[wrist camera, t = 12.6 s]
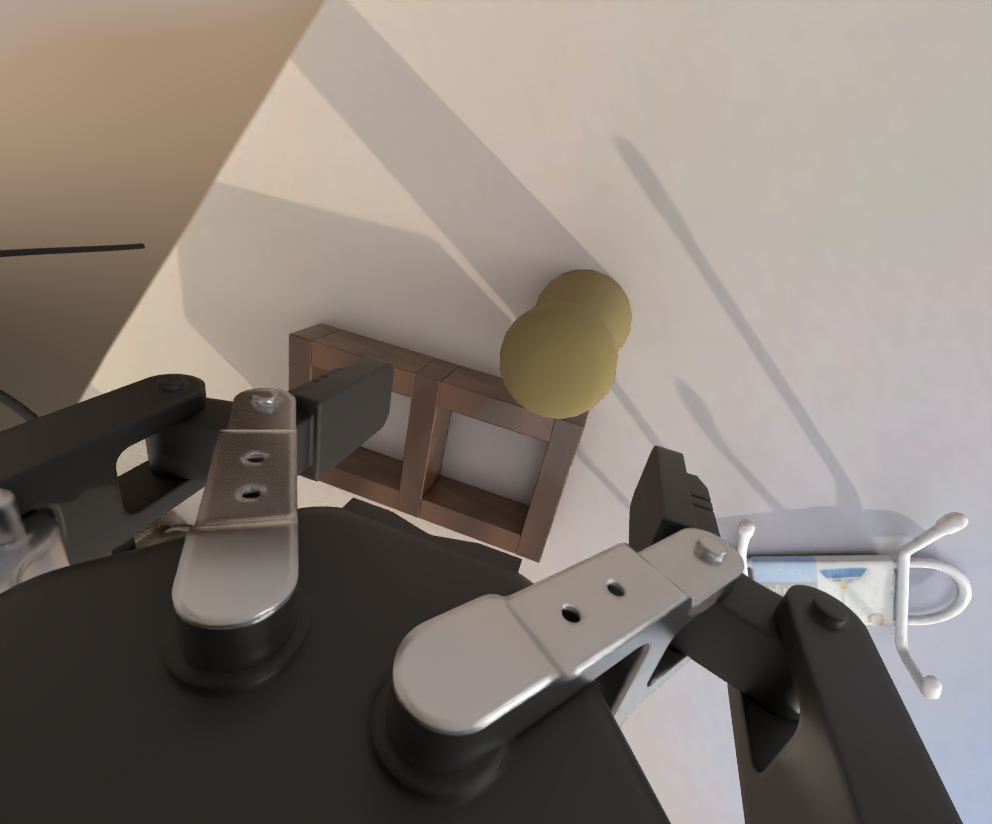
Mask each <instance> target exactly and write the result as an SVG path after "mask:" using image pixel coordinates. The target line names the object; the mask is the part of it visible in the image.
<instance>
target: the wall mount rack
mask: <svg viewBox="0 0 992 824" xmlns="http://www.w3.org/2000/svg"><path fill="white" fill-rule="evenodd" d="M967 524H968V519H967V517H966V516H964V515H963V514H961V513H958V512H951V513H948V514H946V515H944V516H943V517H941V518H940V519H939V520H937V522H936V525H934V526H933V527H931V528H930V529H928V530H927V531H925V532H924V533H922V534H921V535H919V536H918V537H916V538H915V539H913V540H912V541H910V542H909V543H907V544H905V545H904V546H902V547H901V548H900V549H899V552H898V556H897V558H891V557H890V556H889V555H830V556H752V557H750V559H747V558H746V554H747V548H748V543H749V539H750V537H752V536H753V533H754V530H755V525H754V524H753V522H751V521H749V520H743V521H741V522H740V523H739V526H738V534H739V540H738V549H737V551H738V553H739V554H740V555H741V557H742V559H743V561H744V570H743V573H744V574H745V575H746V576H748V570H747V568H748V567H750V568H751V572H752V580H754V581H756V582H757V583H759V584H761V585H763V586H765V587H766V588H768V589H770V590H772V591H774V592H776V593H777V594H779V595H781V596H784V595H785V593H786V592H787V590H788V589H789V588H790V587H791V586H794V585H807V586H811V587H814V588H817V589H819V590H822V591H824V592H826V593H828V594H830V595H831V596H833V597H835V598H836V599H838V600H839V601H841V602H842V603H844V604H845V605H846V606H847V607H849V608H850V609H851V610H852V611H853V612H854V613H855V614H856V615H857V616H858V617H859V618H860V619H861V621H862V622H863V623H864V625H885V626H891V625H895V626H896V633H895V644H896V648H897V651H898V654H899V656H900V657H901V659H902V661H903V663H904V665H905V666H906V668H907V670H908V671H909V673H910V675H911V677H912V678H913V680H914V682H915V683H916V685H917V687H918V688H919V690H920V691H921V693H922V694H923V695H924V696H925V697H926V698H929V699H937V698H939V696H940V693H941V688H942V684H941V682H940V681H939V680H938V679H937V678H936V677H934V676H929V675H928V676H925V677H923V675H922V673H921V672H920V670H919V669H918V667H917V665H916V664H915V662H914V661H913V659H912V657H911V655H910V653H909V650H908V646H907V625H926V624H933V623H938V622H942V621H945V620H948V619H950V618H952V617H954V616H956V615H958V614H959V613H960V612H962V611H963V610H964V609H965V608H966V606H967V605H968V603H969V602H970V600H971V596H972V593H971V586H970V583H969V581H968V579H967V578H966V577H965V575H964V574H963V573H962V572H960V571H959V570H958V569H956V568H955V567H953V566H952V565H949V564H947V563H945V562H942V561H939V560H934V559H928V558H910V556H911V555H912V554H913V553H915V552H916V551H918V550H920V549H922V548H923V547H925V546H927V545H928V544H930V543H932V542H933V541H935V540H937V539H939V538H940V537H942V536H944V535H946V534H952V533H955V532H957V531H959V530H961V529H962V528H964V527H965V526H966V525H967ZM909 567H920V568H932V569H936V570H940V571H942V572H944V573H946V574H948V575H949V576H951V577H952V578H953V579H954V581H955V583H956V585H957V594H956V597H955V599H954V600H953V602H952V603H951V604H949V605H948V606H947V607H945V608H944V609H942V610H940V611H937V612H934V613H930V614H925V615H908V594H909Z"/></svg>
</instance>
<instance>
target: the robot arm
mask: <svg viewBox="0 0 992 824" xmlns="http://www.w3.org/2000/svg"><path fill="white" fill-rule="evenodd" d="M144 248H145V246H144V244H143V243H138V244H123V245H104V246H81V247H56V248H32V249H14V250H13V249H12V250H0V257H11V256H27V255H44V254H64V253H84V252H102V251H118V250H133V249H144ZM393 373H394V369H393V365H392V364H391V363H388V362H385V361H381V360H378V359H375V358H372V357H366V358H364V359H362V360H360V361H358V362H356V363H354V364H352V365H350V366H346V367H341V368H336V369H332V370H330V371H328V372H326V373H324V374H322V375H321V376H318V377H316V378H314V379H312V381H308V382H306V383H304V384H302V385H300V386H298V387H296V388H294V389H292V390H290V391H288V392H286V391H283V390H279V389H273V388H257V389H251V390H247V391H244V392H241V393H239V394H238V395H237V396H236V397H235V398H234V401H233V402H232V401H225V400H218V399H211V398H206V389H205V383H204V381H202V380H201V379H199V378H197V377H194V376H190V375H183V374H165V375H157V376H153V377H149V378H146V379H143V380H141V381H138V382H135V383H132V384H130V385H127V386H124V387H121V388H119V389H116V390H113V391H110V392H108V393H105V394H102V395H100V396H97V397H94V398H91V399H89V400H86V401H83V402H80V403H78V404H75V405H72V406H69V407H67V408H64V409H61V410H59V411H56V412H53V413H50V414H48V415H45V416H42V417H38V416H37V415H36V414H34V413H33V412H32V411H31V410H29V409H28V408H27V407H26V406H24V405H23V404H22V403H21V402H19V401H17V400H16V399H15V398H13V397H12V396H10V395H8V394H6V393H5V392H3V391H1V390H0V401H1V402H2V403H4V404H5V405H7V406H8V407H10V408H11V409H13V410H14V411H15V412H16V413H18V414H19V415H20V416H21V417H23V418H24V419H25V420H26V421H27V422H26V423H23V424H20V425H17V426H15V427H12V428H9V429H7V430H4V431H1V432H0V824H671V823H670V821H669V819H668V817H667V816H666V814H665V812H664V810H663V808H662V806H661V804H660V802H659V801H658V799H657V797H656V795H655V793H654V791H653V789H652V787H651V786H650V784H649V782H648V780H647V778H646V776H645V774H644V772H643V771H642V769H641V767H640V765H639V763H638V761H637V759H636V757H635V756H634V754H633V752H632V750H631V748H630V746H629V744H628V742H627V740H626V739H625V737H624V735H623V733H622V731H621V729H620V727H621V726H622V725H623V723H624V722H625V721H626V720H627V718H628V717H629V716H630V714H631V713H632V712H633V711H634V709H635V708H636V707H637V706H638V705H639V704H640V703H641V702H642V701H643V700H644V699H645V698H646V697H648V696H649V695H650V694H651V693H652V692H654V691H655V690H656V689H657V688H658V687H659V686H661V685H662V684H663V683H664V682H665V681H666V680H668V679H669V678H670V677H671V676H672V675H674V674H675V673H676V672H677V671H678V670H679V669H681V668H682V667H683V666H684V665H685V664H687V663H688V662H689V661H690V659H692V660H694V661H695V662H697V663H698V664H700V665H701V666H703V667H704V668H706V669H707V670H709V671H710V672H712V673H713V674H715V675H716V676H718V677H720V678H721V679H723V680H724V681H726V682H727V683H728V694H729V702H730V710H731V717H732V725H733V733H734V740H735V748H736V756H737V764H738V771H739V779H740V787H741V795H742V802H743V810H744V818H745V824H963V823H962V821H961V819H960V817H959V815H958V813H957V811H956V809H955V807H954V805H953V803H952V801H951V799H950V797H949V795H948V793H947V791H946V788H945V786H944V784H943V782H942V780H941V778H940V776H939V774H938V772H937V770H936V768H935V766H934V764H933V762H932V760H931V758H930V756H929V754H928V752H927V750H926V748H925V746H924V744H923V742H922V740H921V738H920V736H919V734H918V732H917V730H916V728H915V726H914V724H913V721H912V719H911V717H910V715H909V713H908V711H907V709H906V707H905V705H904V703H903V701H902V699H901V697H900V695H899V693H898V691H897V689H896V687H895V685H894V683H893V681H892V679H891V677H890V675H889V673H888V671H887V669H886V667H885V665H884V663H883V661H882V659H881V657H880V654H879V652H878V650H877V648H876V646H875V644H874V642H873V640H872V638H871V636H870V634H869V632H868V630H867V628H866V627H865V625H864V623H863V622H862V621H861V619H860V618H859V617H858V616H857V615H856V614H855V613H854V612H853V611H852V610H851V609H850V608H849V607H847V606H846V605H845V604H844V603H842V602H841V601H839V600H838V599H836V598H835V597H833V596H831V595H830V594H828V593H826V592H824V591H822V590H819V589H817V588H814V587H811V586H807V585H794V586H791V587H790V588H789V589H788V590H787V592H786V593H785V595H784V596H781V595H779V594H777V593H776V592H774V591H772V590H770V589H768V588H766V587H765V586H763V585H761V584H759V583H757V582H756V581H754V580H752V579H751V578H749V577H748V576H746V575H745V574H744V573H743V570H744V561H743V559H742V557H741V555H740V554H739V553H738V551H737V550H736V549H735V548H734V547H733V546H732V545H730V544H729V543H728V542H727V541H725V540H724V539H722V538H720V534H719V530H718V526H717V522H716V519H715V515H714V512H713V507H712V503H711V502H710V501H711V500H710V496H709V492H708V489H707V487H706V486H705V485H704V484H703V483H702V481H701V480H700V479H699V478H698V477H697V476H695V475H692V474H688V473H687V472H686V467H685V462H684V457H683V454H682V453H679V452H676V451H672V450H669V449H666V448H663V447H659V446H654V448H653V449H652V451H651V453H650V456H649V458H648V461H647V463H646V466H645V468H644V470H643V473H642V475H641V478H640V480H639V482H638V485H637V487H636V490H635V492H634V495H633V498H632V502H631V506H630V518H629V545H628V544H626V543H620V544H618V545H615V546H613V547H611V548H609V549H607V550H605V551H603V552H601V553H598V554H596V555H594V556H592V557H590V558H588V559H586V560H584V561H582V562H579V563H577V564H575V565H573V566H571V567H569V568H567V569H565V570H562V571H560V572H558V573H556V574H554V575H552V576H550V577H548V578H546V579H543V580H541V581H539V582H537V583H535V584H533V583H532V582H531V581H529V580H528V579H527V578H526V577H524V576H523V575H521V574H519V573H518V571H519V568H520V564H521V561H522V559H520V558H517V557H515V556H512V555H509V554H506V553H504V552H501V551H498V550H495V549H493V548H490V547H487V546H484V545H482V544H479V543H474V542H468V541H462V540H456V539H450V538H444V537H438V536H433V535H430V534H428V533H426V532H424V531H423V530H421V529H419V528H418V527H416V526H414V525H413V524H411V523H410V522H408V521H406V520H405V519H403V518H402V517H400V516H398V515H397V514H395V513H393V512H391V511H389V510H386V509H383V508H380V507H378V506H375V505H372V504H369V503H367V502H364V501H361V500H358V499H356V498H352V499H351V500H350V501H349V502H348V503H347V504H346V505H345V506H344V507H343V508H338V507H306V508H300V509H297V476H298V475H300V476H303V477H306V478H309V479H311V480H314V481H318V480H319V479H320V478H322V477H323V476H324V475H325V474H326V473H328V472H329V471H330V470H331V469H333V468H334V467H335V466H336V465H337V464H339V463H340V462H341V461H342V460H343V459H345V458H346V457H347V456H348V455H350V454H351V453H352V452H353V451H354V450H356V449H357V448H358V447H359V446H360V445H362V444H363V443H364V442H365V441H366V440H368V439H369V438H370V437H371V436H373V435H374V434H375V433H376V432H377V431H379V430H380V429H381V428H382V427H383V425H384V424H385V422H386V420H387V417H388V414H389V409H390V400H391V391H392V382H393ZM143 439H146V446H147V453H148V459H149V460H148V461H146V462H144V463H142V464H141V465H139V466H137V467H135V468H133V469H131V470H130V471H128V472H126V473H124V474H122V475H120V476H119V477H117V472H116V462H117V460H118V457H119V456H120V454H121V453H122V452H123V451H124V450H125V449H126V448H128V447H129V446H131V445H133V444H135V443H137V442H139V441H141V440H143ZM203 487H205V488H204V492H203V496H202V500H201V504H200V508H199V512H198V516H197V520H196V523H195V525H194V526H191V527H188V526H174V527H171V528H167V527H164V526H162V527H160V528H158V529H157V530H155V531H154V532H152V533H151V534H149V535H148V536H146V537H145V538H143V539H142V540H140V541H138V542H137V543H135V541H134V537H133V535H135V534H136V533H138V532H139V531H141V530H142V529H144V528H145V527H146V526H148V525H149V524H151V523H152V522H154V521H155V520H157V519H158V518H160V517H161V516H162V515H164V514H165V513H167V512H168V511H170V510H171V509H173V508H174V507H176V506H177V505H178V504H180V503H181V502H183V501H184V500H186V499H187V498H189V497H190V496H191V495H193V494H194V493H196V492H197V491H199V490H200V489H202V488H203Z"/></svg>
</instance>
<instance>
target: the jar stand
mask: <svg viewBox="0 0 992 824" xmlns="http://www.w3.org/2000/svg"><path fill="white" fill-rule="evenodd" d="M366 357H372V358H375V359H378V360H381V361H385V362H388V363H391V364H392V365H393V369H394V373H393V382H392V392H395V393H398V394H401V395H404V396H407V397H411V398H412V402H411V409H410V416H409V424H408V431H407V438H406V445H405V453H404V460H403V462H401V461H398V460H395V459H392V458H389V457H387V456H384V455H381V454H378V453H375V452H372V451H370V450H367V449H364V448H361V447H358V448H357V449H356V450H354V451H353V452H352V453H351V454H350V455H348V456H347V457H346V458H345V459H343V460H342V461H341V462H340V463H339V464H337V465H336V466H335V467H334V468H333V469H331V470H330V471H329V472H328V473H326V474H325V475H324V476H323V477H322V478H320V479H319V480H318V481H321V482H324V483H326V484H329V485H332V486H334V487H337V488H340V489H343V490H345V491H348V492H351V493H353V494H356V495H359V496H361V497H364V498H367V499H369V500H372V501H375V502H377V503H380V504H383V505H385V506H388V507H391V508H394V509H397V510H399V511H401V512H404V513H407V514H409V515H412V516H415V517H417V518H418V517H419V518H421V519H423V520H426V521H429V522H431V523H434V524H437V525H439V526H442V527H445V528H448V529H450V530H453V531H456V532H458V533H461V534H464V535H466V536H469V537H472V538H474V539H477V540H480V541H482V542H485V543H488V544H490V545H493V546H496V547H499V548H501V549H504V550H507V551H509V552H512V553H516V554H517V555H519V556H522V557H525V558H527V559H530V560H533V561H535V562H538V563H539V562H540V559H541V556H542V553H543V550H544V547H545V544H546V541H547V538H548V535H549V532H550V529H551V526H552V523H553V520H554V517H555V514H556V511H557V508H558V505H559V502H560V499H561V496H562V493H563V490H564V487H565V484H566V481H567V478H568V475H569V472H570V469H571V466H572V463H573V460H574V457H575V454H576V451H577V448H578V445H579V442H580V439H581V436H582V433H583V430H584V427H585V423H586V419H587V416H588V412H589V410H588V411H586V412H584V413H582V414H580V415H578V416H575V417H569V418H563V419H555V418H547V417H542V416H540V415H537V414H535V413H533V412H530V411H528V410H526V409H525V408H524V407H523V406H522V405H520V404H519V403H518V402H517V401H515V400H514V398H513V397H512V395H511V394H510V392H509V391H508V389H507V388H506V386H505V384H504V381H503V379H501V378H498V377H494V376H491V375H488V374H484V373H481V372H478V371H475V370H471V369H468V368H465V367H462V366H460V367H459V365H455V364H452V363H449V362H445V361H442V360H439V359H435V358H432V357H429V356H426V355H422V354H419V353H416V352H413V351H409V350H406V349H403V348H400V347H396V346H393V345H390V344H387V343H383V342H380V341H377V340H373V339H370V338H367V337H364V336H360V335H357V334H354V333H351V332H347V331H344V330H340V329H337V328H334V327H331V326H327V325H324V324H317V325H314V326H311V327H308V328H305V329H302V330H300V331H297V332H294V333H291V334H289V391H290V390H292V389H294V388H296V387H298V386H300V385H302V384H304V383H306V382H308V381H312V379H314V378H316V377H318V376H321V375H322V374H324V373H326V372H328V371H330V370H332V369H336V368H341V367H346V366H350V365H352V364H354V363H356V362H358V361H360V360H362V359H364V358H366ZM451 411H454V412H457V413H460V414H463V415H466V416H469V417H472V418H475V419H478V420H481V421H484V422H488V423H491V424H494V425H497V426H500V427H503V428H506V429H509V430H512V431H515V432H518V433H521V434H524V435H528V436H531V437H534V438H537V439H540V440H543V441H546V442H548V446H547V449H546V452H545V456H544V459H543V462H542V466H541V469H540V473H539V476H538V479H537V483H536V486H535V489H534V493H533V496H532V499H531V503H530V506H529V507H528V506H525V505H523V504H520V503H517V502H514V501H511V500H508V499H506V498H503V497H500V496H497V495H494V494H491V493H489V492H486V491H483V490H480V489H477V488H474V487H472V486H469V485H466V484H463V483H460V482H457V481H455V480H452V479H449V478H446V477H443V476H440V471H441V466H442V460H443V455H444V449H445V444H446V438H447V433H448V427H449V422H450V416H451Z"/></svg>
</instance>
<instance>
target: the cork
mask: <svg viewBox="0 0 992 824" xmlns="http://www.w3.org/2000/svg"><path fill="white" fill-rule="evenodd" d="M631 318H632V314H631V309H630V304H629V300H628V298H627V297H626V295H625V293H624V292H623V290H622V288H621V286H619V285H618V284H617V283H616V282H615V281H613V280H612V279H611V278H610V277H609V276H606V275H604V274H601V273H599V272H596V271H593V270H576V271H572V272H569V273H565V274H562V275H561V276H559V277H558V278H556V279H555V280H553V281H552V282H550V283H549V284H548V286H547V287H546V288H545V289H544V291H543V292H542V293H541V295H540V296H539V299H538V302H537V304H536V306H535V307H533V308H532V309H530V310H529V311H527V312H526V313H524V314H523V315H521V316H520V317H518V318H517V319H516V321H515V322H514V323H513V325H512V326H511V327H510V328H509V330H508V331H507V332H506V335H505V338H504V341H503V344H502V347H501V351H500V371H501V375H502V378H503V381H504V384H505V386H506V388H507V389H508V391H509V392H510V394H511V395H512V397H513V398H514V400H515V401H517V402H518V403H519V404H520V405H522V406H523V407H524V408H525V409H526V410H528V411H530V412H533V413H535V414H537V415H540V416H542V417H547V418H555V419H563V418H569V417H575V416H578V415H580V414H582V413H584V412H586V411H588V410H590V409H592V408H593V407H594V406H595V405H596V404H597V403H598V402H599V401H600V400H601V399H602V398H603V397H604V396H605V395H606V394H607V393H608V391H609V389H610V387H611V385H612V383H613V381H614V379H615V375H616V366H617V358H618V354H617V352H618V351H619V349H620V348H621V347H622V346H623V344H624V342H625V340H626V338H627V336H628V334H629V332H630V326H631Z"/></svg>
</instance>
